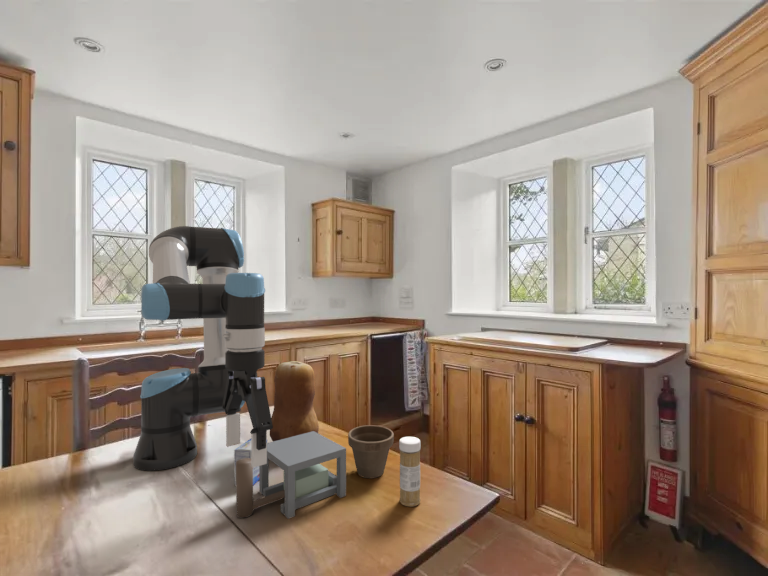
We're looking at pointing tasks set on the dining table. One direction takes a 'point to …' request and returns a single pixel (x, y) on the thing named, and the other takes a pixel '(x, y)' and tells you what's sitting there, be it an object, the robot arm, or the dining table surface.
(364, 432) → the flower pot
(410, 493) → the sprinkles bottle
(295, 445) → the grey step stool
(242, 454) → the medicine box
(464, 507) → the dining table surface
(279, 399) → the butternut squash
